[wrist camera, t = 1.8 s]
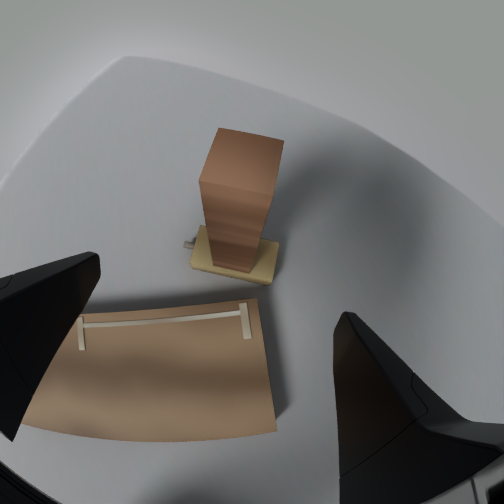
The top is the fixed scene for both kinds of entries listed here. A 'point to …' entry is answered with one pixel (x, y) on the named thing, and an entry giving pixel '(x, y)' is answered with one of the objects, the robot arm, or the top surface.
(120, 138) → the top surface
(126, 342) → the tan wooden flat board
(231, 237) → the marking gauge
